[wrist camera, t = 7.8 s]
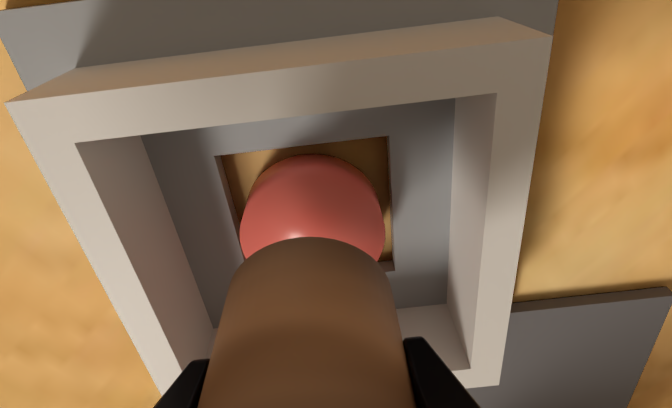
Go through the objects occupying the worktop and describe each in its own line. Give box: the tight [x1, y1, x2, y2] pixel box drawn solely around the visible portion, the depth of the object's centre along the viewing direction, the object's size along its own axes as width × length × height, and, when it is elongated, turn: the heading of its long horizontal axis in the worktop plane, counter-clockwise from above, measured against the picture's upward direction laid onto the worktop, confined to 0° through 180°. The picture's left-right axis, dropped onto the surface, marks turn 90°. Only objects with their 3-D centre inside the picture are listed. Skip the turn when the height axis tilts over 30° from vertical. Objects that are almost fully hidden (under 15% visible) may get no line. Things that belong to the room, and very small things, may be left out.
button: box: [240, 154, 385, 262], centre depth 13 cm, size 4×4×1 cm
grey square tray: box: [0, 0, 559, 396], centre depth 13 cm, size 14×14×4 cm
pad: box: [466, 287, 672, 408], centre depth 19 cm, size 9×9×1 cm
